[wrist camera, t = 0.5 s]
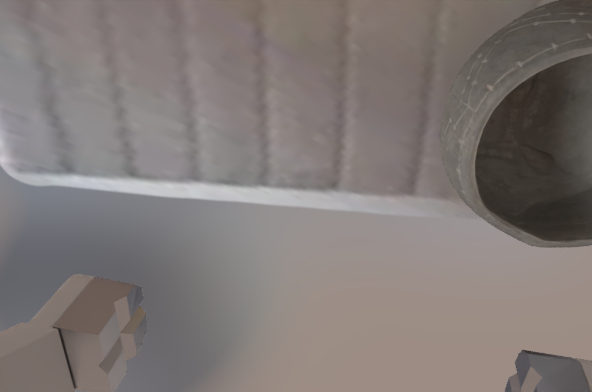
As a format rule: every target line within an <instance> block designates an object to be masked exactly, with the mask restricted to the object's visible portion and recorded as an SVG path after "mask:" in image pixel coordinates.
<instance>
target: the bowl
mask: <svg viewBox="0 0 592 392" xmlns="http://www.w3.org/2000/svg"><path fill="white" fill-rule="evenodd" d="M440 152H441V157H442V161H443V165H444V168H445V170H446V173H447V176H448V178H449V180H450V181H451V183H452V185H453V187H454V188H455V190H456V191H457V193H458V195H459V196H460V197H461V198H462V200H463V201H464V202H465V203H466V205H467V206H469V207H470V208H471V209H472V210H473V211H474V212H475V213H476V214H477V215H479V216H480V217H482V218H483V219H484V220H485V221H487V222H488V223H490V224H491V225H493V226H494V227H496V228H497V229H499V230H501V231H503V232H505V233H506V234H508V235H510V236H512V237H514V238H516V239H517V240H519V241H522V242H524V243H527V244H529V245H531V246H536V247H580V246H589V245H592V0H559V1H556V2H552V3H549V4H545V5H543V6H540V7H538V8H536V9H534V10H532V11H530V12H528V13H526V14H524V15H522V16H521V17H519V18H518V19H516V20H514V21H513V22H511V23H510V24H508V25H507V26H505V27H504V28H502V29H501V30H499V31H498V32H497V33H495V34H494V35H493V36H492V37H490V38H489V39H488V40H487V41H486V42H484V43H483V44H482V45H481V46H480V47H479V48H478V49H477V51H476V52H475V53H474V54H473V55H472V56H471V57H470V58H469V59H468V60H467V62H466V63H465V65H464V66H463V68H462V69H461V71H460V73H459V74H458V76H457V78H456V80H455V82H454V84H453V86H452V89H451V91H450V94H449V96H448V99H447V104H446V107H445V111H444V114H443V119H442V124H441V129H440Z"/></svg>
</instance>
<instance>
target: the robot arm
mask: <svg viewBox="0 0 592 392" xmlns="http://www.w3.org/2000/svg"><path fill="white" fill-rule="evenodd" d="M143 299H144V297H143V292H142V288H141V287H140V286H138V285H135V284H129V283H124V282H119V281H114V280H109V279H104V278H99V277H97V278H96V277H91V276H86V275H81V274H75V275H73V276H71V277H70V278H69V279H68V280H67V281H66V282H65V283H64V284H63V285H62V286H61V287H60V289H59V290H58V291H57V292H56V293H55V294H54V295H53V296H52V298H51V299H50V300H49V301H48V302H47V303H46V304H45V305H44V307H43V308H42V309H41V310H40V311H39V312H38V313H37V314H36V315H35V317H34V318H33V319H32V320H31V321H30V322H29V323H23V322H22V323H19V324H17V325H15V326H13V327H11V328H9V329H6V330H4V331H2V332H0V392H75V389H76V390H82V391H88V392H115V390H116V388H117V387H118V385H119V383H120V382H121V380H122V378H123V377H124V375H125V373H126V372H127V368H126V362H125V361H127V360H129V359H130V358H132V357H133V356H135V355H137V353H138V351H139V349H140V348H141V346H142V344H143V341H144V338H145V334H146V329H147V318H146V313H145V312H144V311H143V309H142V308H141V307H140V306H139V305H140V304H141V302H142V301H143ZM515 365H516V370H517V373H516V374H515V375H513V376H511V377H509V379H508V382H507V385H506V388H505V392H592V361H590V360H583V359H577V358H575V359H573V358H570V357H564V356H558V355H551V354H545V353H539V352H533V351H526V350H522V351H521V352H520V353H519V354H518V357H517V359H516V362H515Z"/></svg>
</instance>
